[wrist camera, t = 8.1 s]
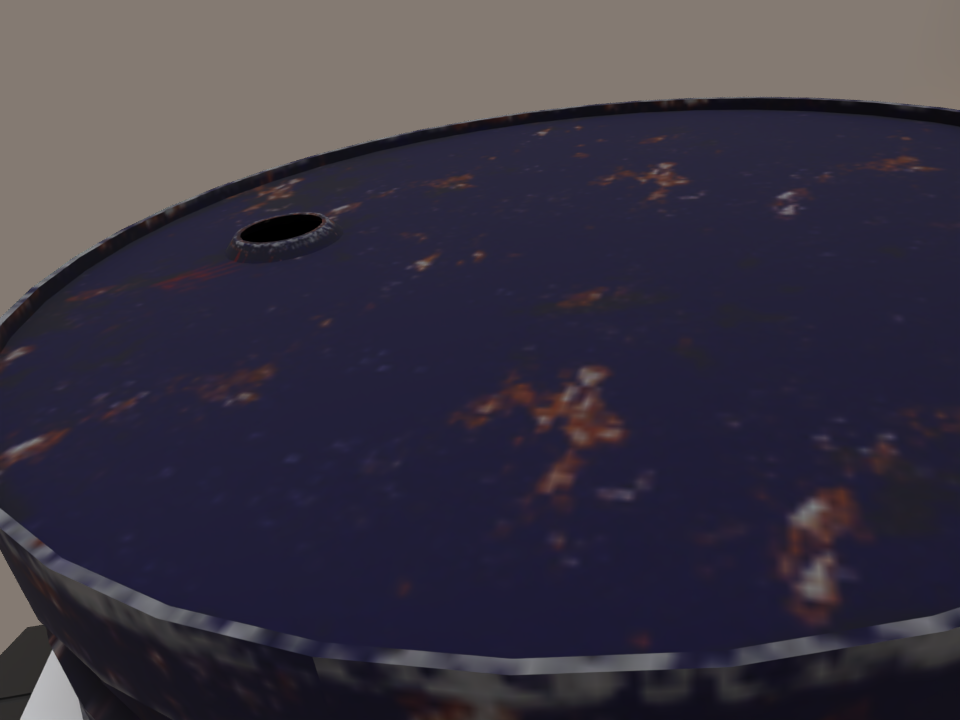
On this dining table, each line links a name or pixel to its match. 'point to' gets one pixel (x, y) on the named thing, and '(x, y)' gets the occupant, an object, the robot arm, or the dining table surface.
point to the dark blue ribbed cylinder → (511, 427)
